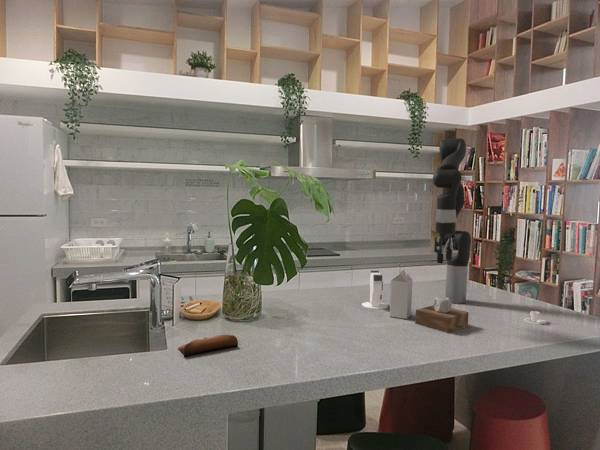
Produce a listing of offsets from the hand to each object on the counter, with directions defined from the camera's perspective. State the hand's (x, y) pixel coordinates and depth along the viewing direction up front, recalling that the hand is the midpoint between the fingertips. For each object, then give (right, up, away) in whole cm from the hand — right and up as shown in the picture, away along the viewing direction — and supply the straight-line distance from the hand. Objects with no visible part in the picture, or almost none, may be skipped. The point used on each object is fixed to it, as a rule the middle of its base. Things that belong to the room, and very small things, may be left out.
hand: (444, 261), depth 178 cm
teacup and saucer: (+35, -25, +1) cm, 43 cm away
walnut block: (-3, -25, -5) cm, 25 cm away
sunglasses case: (-87, -25, -35) cm, 97 cm away
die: (-3, -19, -6) cm, 20 cm away
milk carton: (-16, -23, +6) cm, 29 cm away
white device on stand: (-24, -22, +21) cm, 39 cm away
